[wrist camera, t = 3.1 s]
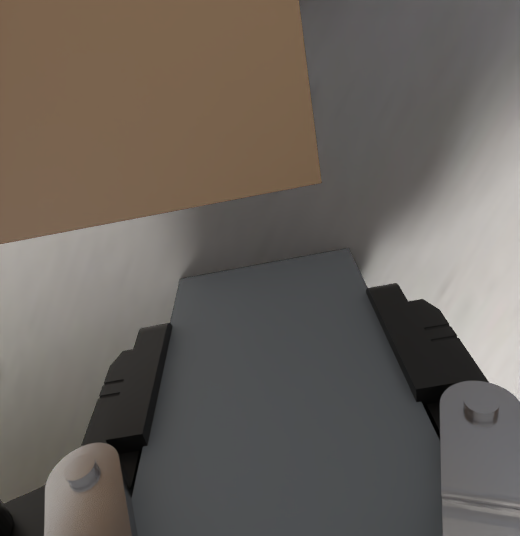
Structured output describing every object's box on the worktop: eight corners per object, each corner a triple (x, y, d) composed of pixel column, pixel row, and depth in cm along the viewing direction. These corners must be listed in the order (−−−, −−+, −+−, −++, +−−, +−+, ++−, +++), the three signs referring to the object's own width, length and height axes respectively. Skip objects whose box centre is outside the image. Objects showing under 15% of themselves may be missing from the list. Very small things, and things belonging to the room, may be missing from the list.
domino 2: (353, 294, 14) (540, 748, 5) (193, 322, 14) (124, 799, 6) (348, 248, 13) (555, 687, 5) (180, 279, 14) (75, 751, 5)
